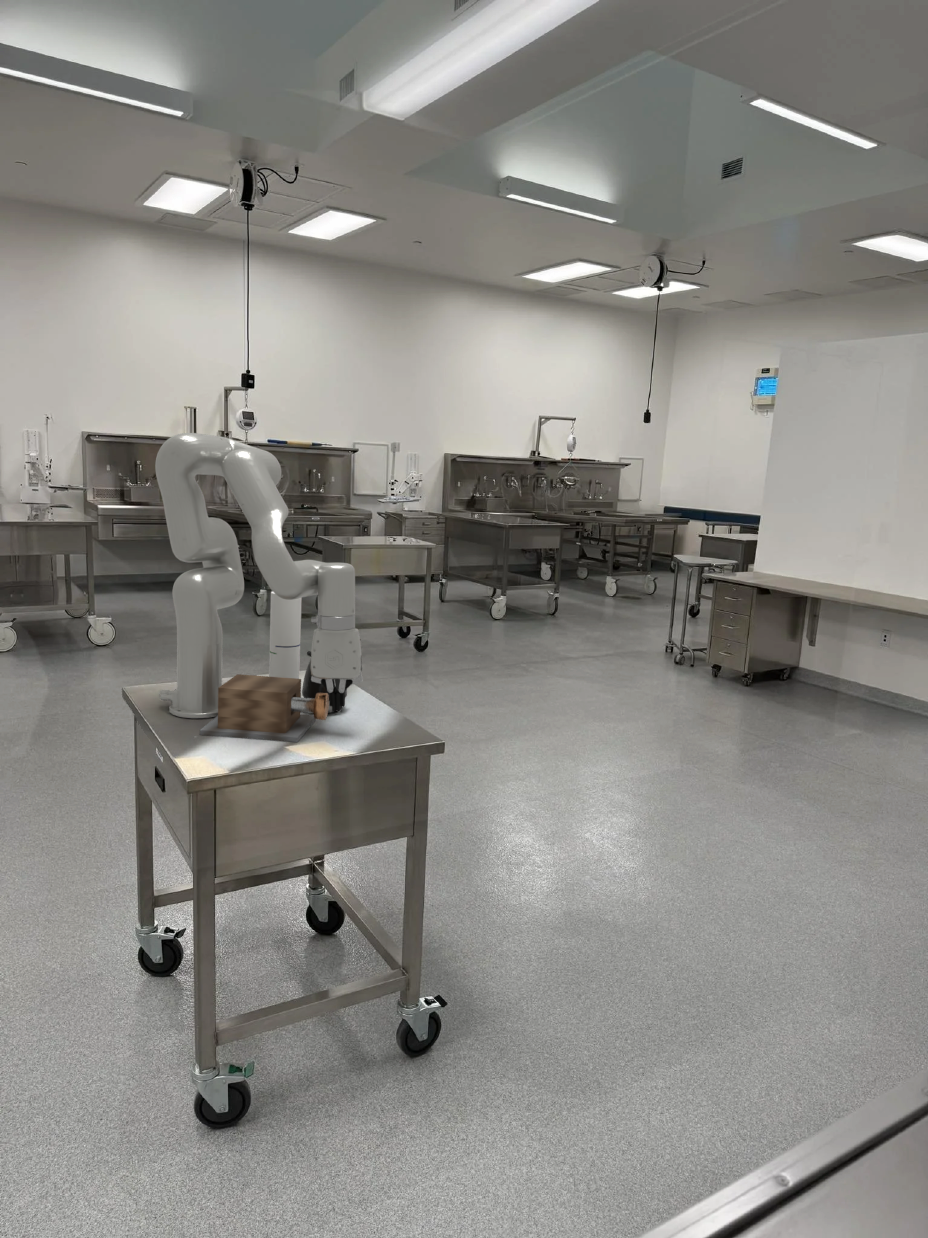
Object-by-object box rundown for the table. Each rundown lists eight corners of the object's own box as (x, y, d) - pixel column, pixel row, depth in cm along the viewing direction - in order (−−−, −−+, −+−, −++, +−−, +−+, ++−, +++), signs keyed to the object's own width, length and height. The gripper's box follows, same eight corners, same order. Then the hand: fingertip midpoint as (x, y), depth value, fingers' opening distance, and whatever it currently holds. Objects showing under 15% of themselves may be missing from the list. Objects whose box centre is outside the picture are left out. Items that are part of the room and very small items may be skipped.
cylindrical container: (291, 700, 197) (294, 596, 193) (263, 696, 198) (265, 593, 194) (303, 693, 204) (306, 592, 200) (276, 689, 205) (278, 589, 201)
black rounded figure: (291, 708, 190) (293, 643, 187) (326, 701, 198) (328, 638, 195) (320, 719, 183) (322, 651, 181) (355, 711, 191) (358, 646, 189)
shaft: (227, 716, 172) (227, 690, 171) (235, 708, 178) (236, 683, 177) (322, 723, 171) (323, 697, 170) (328, 715, 177) (329, 690, 176)
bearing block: (199, 734, 168) (200, 689, 166) (226, 713, 184) (226, 671, 182) (297, 742, 167) (298, 696, 165) (315, 719, 183) (317, 677, 181)
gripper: (296, 625, 167) (297, 713, 170) (369, 626, 167) (370, 715, 169) (305, 619, 175) (306, 704, 177) (375, 621, 174) (375, 706, 177)
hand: (337, 709), depth 173 cm, fingers closed
